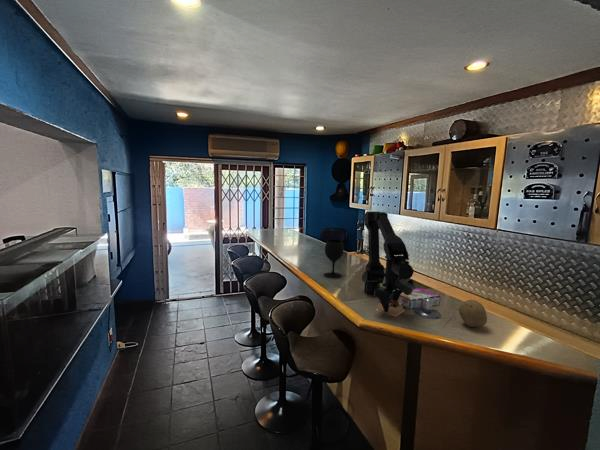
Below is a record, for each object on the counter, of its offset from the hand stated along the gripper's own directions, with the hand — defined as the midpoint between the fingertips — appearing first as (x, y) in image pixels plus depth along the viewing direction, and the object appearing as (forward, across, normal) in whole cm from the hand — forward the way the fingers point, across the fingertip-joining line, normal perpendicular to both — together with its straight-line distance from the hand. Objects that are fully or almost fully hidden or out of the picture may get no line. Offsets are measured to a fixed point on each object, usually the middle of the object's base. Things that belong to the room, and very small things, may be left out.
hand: (390, 308), depth 119 cm
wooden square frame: (0, 0, 0) cm, 0 cm away
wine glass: (+2, +24, +45) cm, 51 cm away
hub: (+1, +8, -12) cm, 14 cm away
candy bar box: (-1, +24, -8) cm, 26 cm away
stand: (+1, 0, 0) cm, 1 cm away
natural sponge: (+2, +10, -27) cm, 29 cm away
